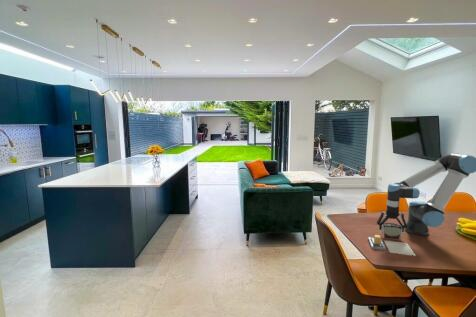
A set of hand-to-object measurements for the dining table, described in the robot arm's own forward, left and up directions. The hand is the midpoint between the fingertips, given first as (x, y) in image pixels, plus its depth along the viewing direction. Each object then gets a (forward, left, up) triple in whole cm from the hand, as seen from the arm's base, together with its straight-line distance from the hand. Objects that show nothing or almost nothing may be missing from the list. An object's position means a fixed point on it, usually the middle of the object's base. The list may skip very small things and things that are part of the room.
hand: (390, 235), depth 183 cm
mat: (-1, +17, -2) cm, 17 cm away
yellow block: (+12, +18, 0) cm, 22 cm away
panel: (+12, +16, -2) cm, 20 cm away
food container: (0, 0, -2) cm, 2 cm away
